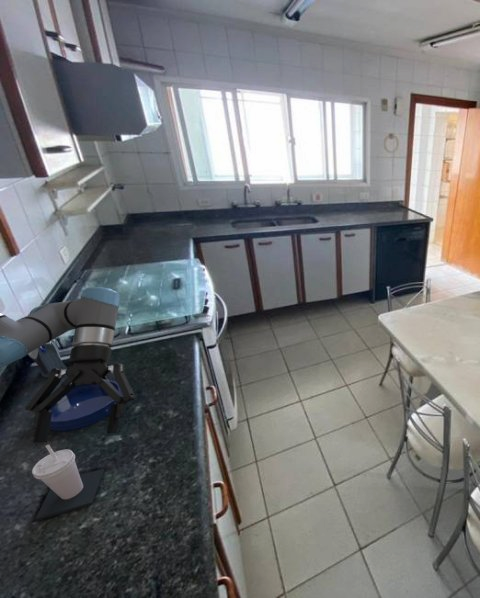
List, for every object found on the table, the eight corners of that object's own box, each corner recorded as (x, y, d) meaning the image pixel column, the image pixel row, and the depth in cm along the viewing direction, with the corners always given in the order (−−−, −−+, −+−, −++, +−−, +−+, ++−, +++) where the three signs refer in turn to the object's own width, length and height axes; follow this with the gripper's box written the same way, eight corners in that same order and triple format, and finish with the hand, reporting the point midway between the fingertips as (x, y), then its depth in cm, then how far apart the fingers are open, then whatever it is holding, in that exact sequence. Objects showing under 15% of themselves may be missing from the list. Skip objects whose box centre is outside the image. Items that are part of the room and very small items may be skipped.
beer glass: (39, 381, 104) (16, 342, 98) (41, 370, 109) (19, 332, 102) (68, 373, 108) (48, 334, 102) (70, 363, 113) (50, 325, 106)
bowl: (32, 438, 85) (26, 429, 84) (59, 396, 99) (55, 387, 98) (115, 420, 93) (111, 411, 91) (129, 383, 106) (126, 374, 105)
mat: (36, 521, 68) (34, 519, 68) (54, 484, 75) (53, 481, 75) (92, 504, 72) (91, 502, 71) (104, 470, 79) (103, 468, 79)
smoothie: (96, 486, 74) (70, 443, 68) (58, 511, 69) (27, 467, 63) (84, 473, 77) (58, 430, 71) (47, 495, 72) (16, 452, 66)
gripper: (156, 346, 89) (147, 429, 82) (41, 354, 83) (21, 445, 76) (143, 340, 82) (132, 429, 75) (17, 348, 76) (-8, 447, 69)
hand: (76, 437), depth 76 cm, fingers open, 13 cm apart
